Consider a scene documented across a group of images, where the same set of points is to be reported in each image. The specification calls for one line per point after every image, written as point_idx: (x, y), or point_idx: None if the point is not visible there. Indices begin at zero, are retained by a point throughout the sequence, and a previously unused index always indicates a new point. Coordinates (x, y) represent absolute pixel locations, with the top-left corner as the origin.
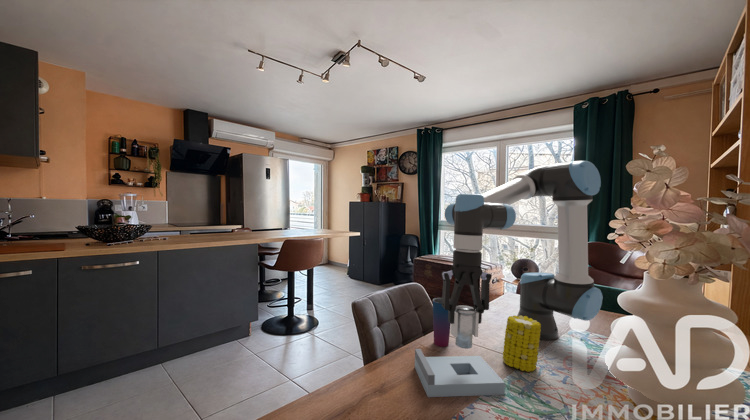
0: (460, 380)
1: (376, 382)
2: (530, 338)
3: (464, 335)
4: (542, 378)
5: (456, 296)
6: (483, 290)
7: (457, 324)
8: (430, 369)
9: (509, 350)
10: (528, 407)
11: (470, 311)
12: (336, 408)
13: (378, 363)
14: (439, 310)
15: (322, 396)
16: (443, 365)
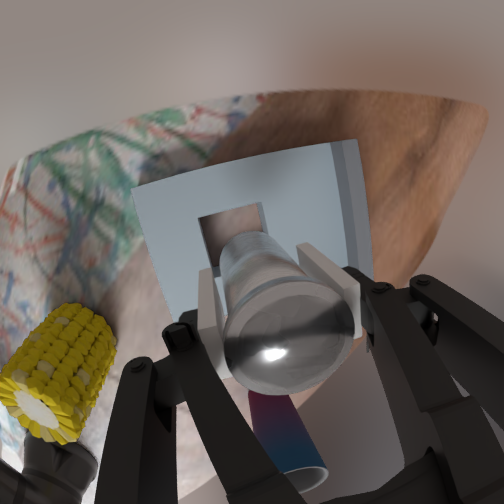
0: (257, 173)
1: (422, 187)
2: (27, 350)
3: (267, 245)
4: (43, 283)
5: (420, 345)
6: (157, 486)
7: (316, 263)
8: (349, 170)
9: (93, 345)
10: (97, 148)
11: (270, 293)
12: (459, 111)
13: (416, 262)
14: (305, 449)
15: (476, 141)
16: (294, 246)
